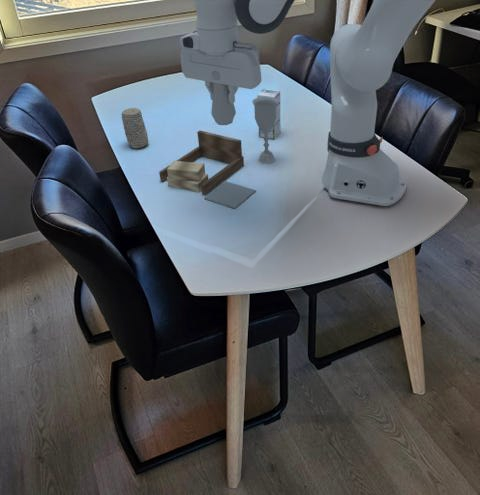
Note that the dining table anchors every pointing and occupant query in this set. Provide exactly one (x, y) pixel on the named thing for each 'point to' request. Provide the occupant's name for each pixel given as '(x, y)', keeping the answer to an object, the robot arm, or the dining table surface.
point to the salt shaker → (221, 103)
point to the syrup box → (277, 127)
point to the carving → (134, 128)
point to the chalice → (265, 123)
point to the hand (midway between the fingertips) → (222, 101)
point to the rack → (214, 157)
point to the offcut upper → (186, 171)
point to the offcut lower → (188, 183)
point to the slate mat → (230, 195)
